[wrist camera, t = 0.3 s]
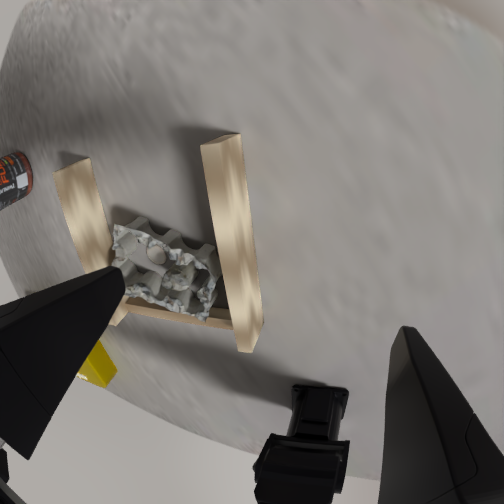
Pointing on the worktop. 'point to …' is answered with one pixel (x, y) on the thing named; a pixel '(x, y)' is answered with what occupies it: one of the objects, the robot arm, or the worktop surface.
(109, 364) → the element tile
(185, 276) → the egg carton
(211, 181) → the open wooden frame
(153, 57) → the worktop surface
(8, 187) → the supplement bottle
